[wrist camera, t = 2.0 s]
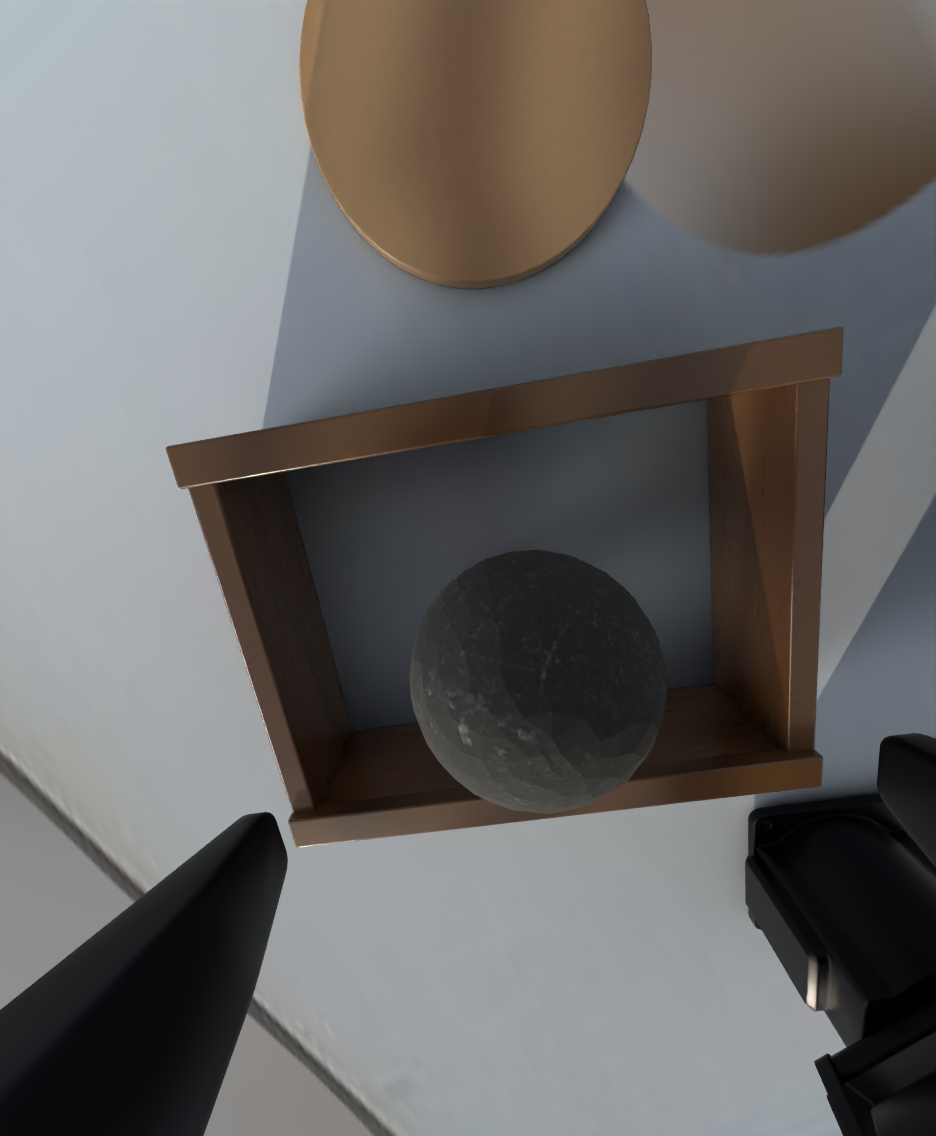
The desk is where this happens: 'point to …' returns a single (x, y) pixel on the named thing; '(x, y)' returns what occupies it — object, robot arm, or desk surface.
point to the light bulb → (538, 681)
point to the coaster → (474, 125)
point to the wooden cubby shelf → (721, 376)
